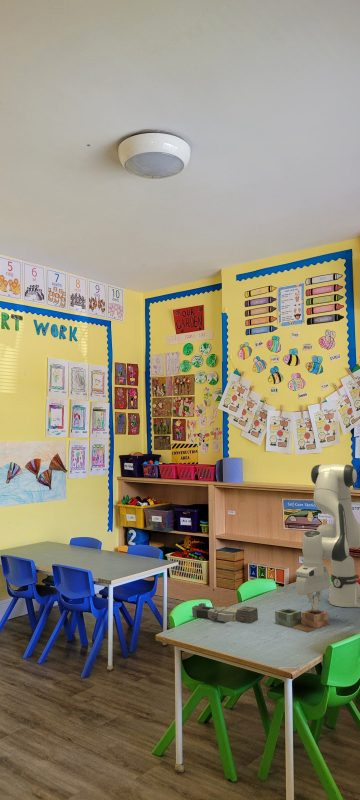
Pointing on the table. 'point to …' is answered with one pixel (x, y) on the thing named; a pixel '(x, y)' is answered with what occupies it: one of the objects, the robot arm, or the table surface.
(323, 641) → the table surface
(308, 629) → the dock board
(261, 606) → the table surface
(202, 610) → the toy figure
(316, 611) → the metal pin
